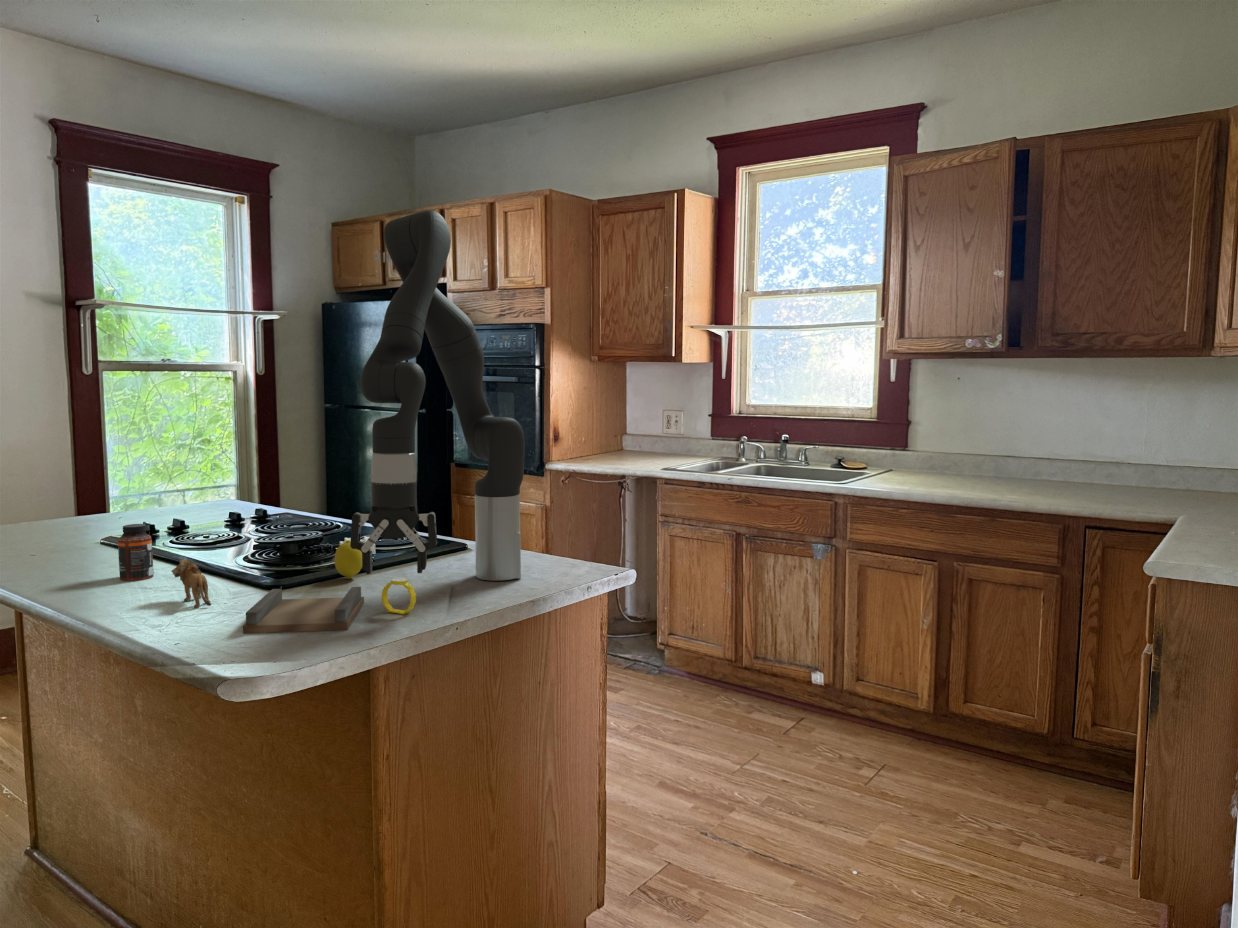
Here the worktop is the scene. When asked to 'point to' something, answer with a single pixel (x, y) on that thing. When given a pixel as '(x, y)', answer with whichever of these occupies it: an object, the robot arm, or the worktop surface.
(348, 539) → the modular blocks
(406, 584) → the watch
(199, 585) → the lion figurine
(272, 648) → the worktop surface
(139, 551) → the supplement bottle
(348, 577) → the lemon
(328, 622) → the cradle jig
